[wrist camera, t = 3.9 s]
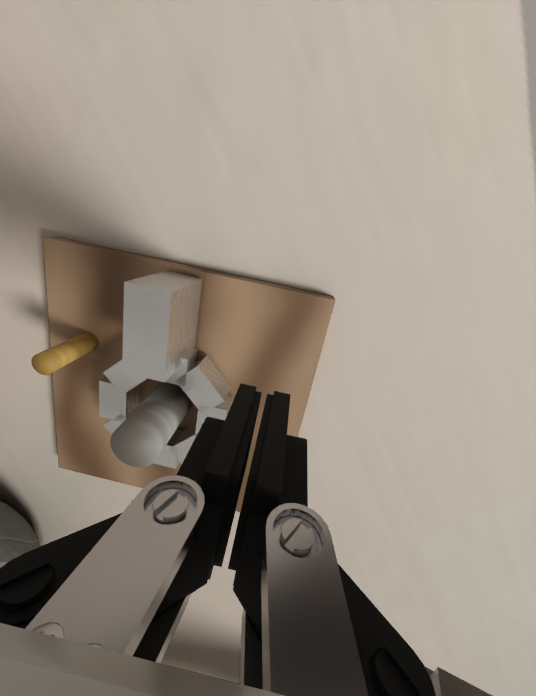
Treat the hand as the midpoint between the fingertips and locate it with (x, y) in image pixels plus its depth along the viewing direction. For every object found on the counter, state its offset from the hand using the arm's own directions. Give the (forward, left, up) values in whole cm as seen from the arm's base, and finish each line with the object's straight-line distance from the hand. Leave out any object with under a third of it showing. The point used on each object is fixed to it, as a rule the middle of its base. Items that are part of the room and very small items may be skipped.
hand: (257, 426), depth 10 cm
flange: (+7, +5, -11) cm, 14 cm away
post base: (+7, +7, -13) cm, 16 cm away
